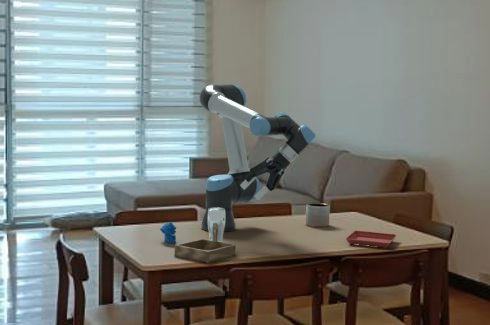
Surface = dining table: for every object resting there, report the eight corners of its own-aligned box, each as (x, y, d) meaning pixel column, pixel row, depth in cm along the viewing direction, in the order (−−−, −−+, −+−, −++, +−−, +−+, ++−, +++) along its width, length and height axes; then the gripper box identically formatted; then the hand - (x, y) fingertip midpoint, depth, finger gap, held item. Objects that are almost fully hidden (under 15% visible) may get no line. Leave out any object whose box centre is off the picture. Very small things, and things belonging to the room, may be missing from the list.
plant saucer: (389, 250, 301) (389, 242, 301) (344, 245, 308) (345, 237, 307) (396, 242, 318) (397, 234, 318) (354, 238, 324) (354, 230, 324)
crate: (174, 255, 280) (174, 245, 280) (202, 248, 293) (202, 238, 293) (207, 262, 271) (208, 251, 270) (235, 255, 283) (235, 244, 283)
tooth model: (206, 244, 301) (207, 207, 300) (224, 244, 302) (225, 207, 300) (207, 248, 294) (208, 210, 293) (225, 248, 295) (226, 210, 293)
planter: (333, 225, 351) (334, 204, 350) (322, 228, 342) (323, 207, 341) (312, 222, 357) (313, 202, 356) (301, 225, 348) (302, 204, 347)
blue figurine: (171, 222, 311) (183, 220, 301) (172, 242, 310) (185, 241, 300) (155, 223, 307) (167, 222, 298) (156, 244, 307) (168, 243, 297)
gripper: (278, 150, 302) (241, 188, 303) (301, 172, 322) (266, 208, 323) (267, 139, 306) (230, 177, 307) (290, 162, 327) (256, 197, 328)
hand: (249, 193), depth 315 cm, fingers open, 13 cm apart
